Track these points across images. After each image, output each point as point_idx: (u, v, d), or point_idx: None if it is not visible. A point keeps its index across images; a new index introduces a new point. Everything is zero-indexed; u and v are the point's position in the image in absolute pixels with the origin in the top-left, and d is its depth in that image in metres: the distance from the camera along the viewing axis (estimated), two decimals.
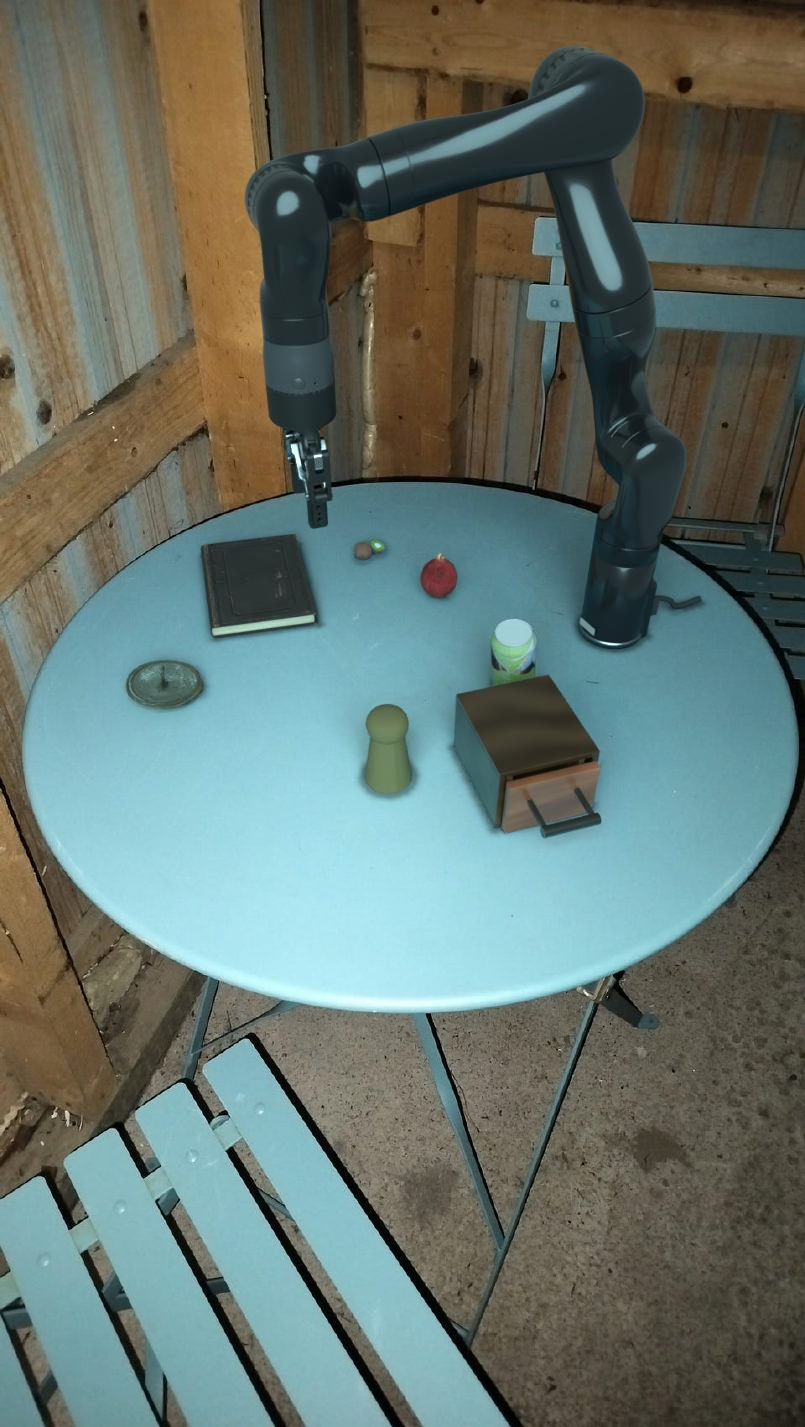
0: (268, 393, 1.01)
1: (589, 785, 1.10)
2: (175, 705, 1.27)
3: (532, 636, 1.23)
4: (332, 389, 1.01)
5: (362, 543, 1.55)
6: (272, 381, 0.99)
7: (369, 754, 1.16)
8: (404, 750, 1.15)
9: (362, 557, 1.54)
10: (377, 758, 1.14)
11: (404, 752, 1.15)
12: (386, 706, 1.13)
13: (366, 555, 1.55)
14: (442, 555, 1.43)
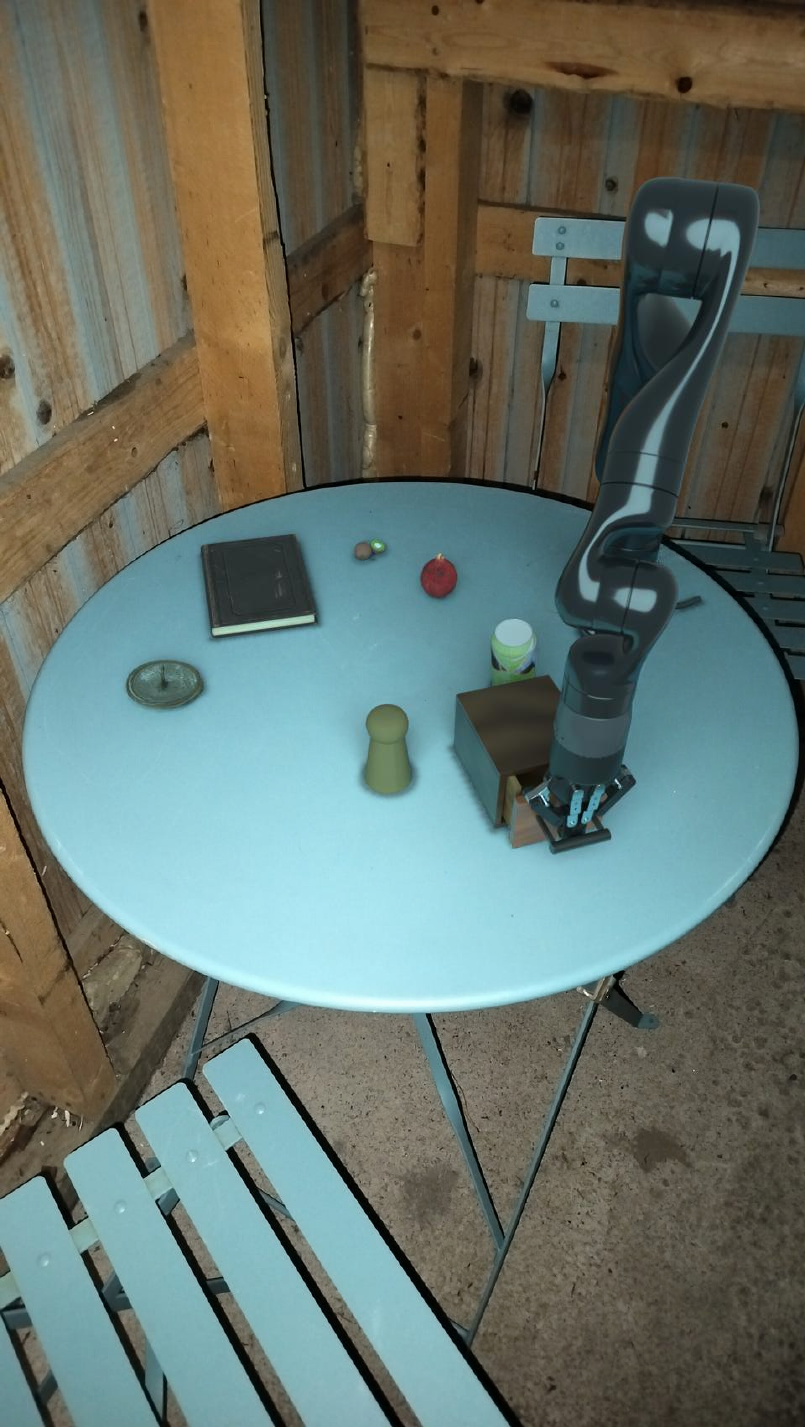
0: None
1: None
2: (175, 705, 1.27)
3: (532, 636, 1.23)
4: (583, 761, 0.93)
5: (362, 543, 1.55)
6: None
7: (369, 754, 1.16)
8: (404, 750, 1.15)
9: (362, 557, 1.54)
10: (377, 758, 1.14)
11: (404, 752, 1.15)
12: (386, 706, 1.13)
13: (367, 555, 1.55)
14: (442, 555, 1.43)
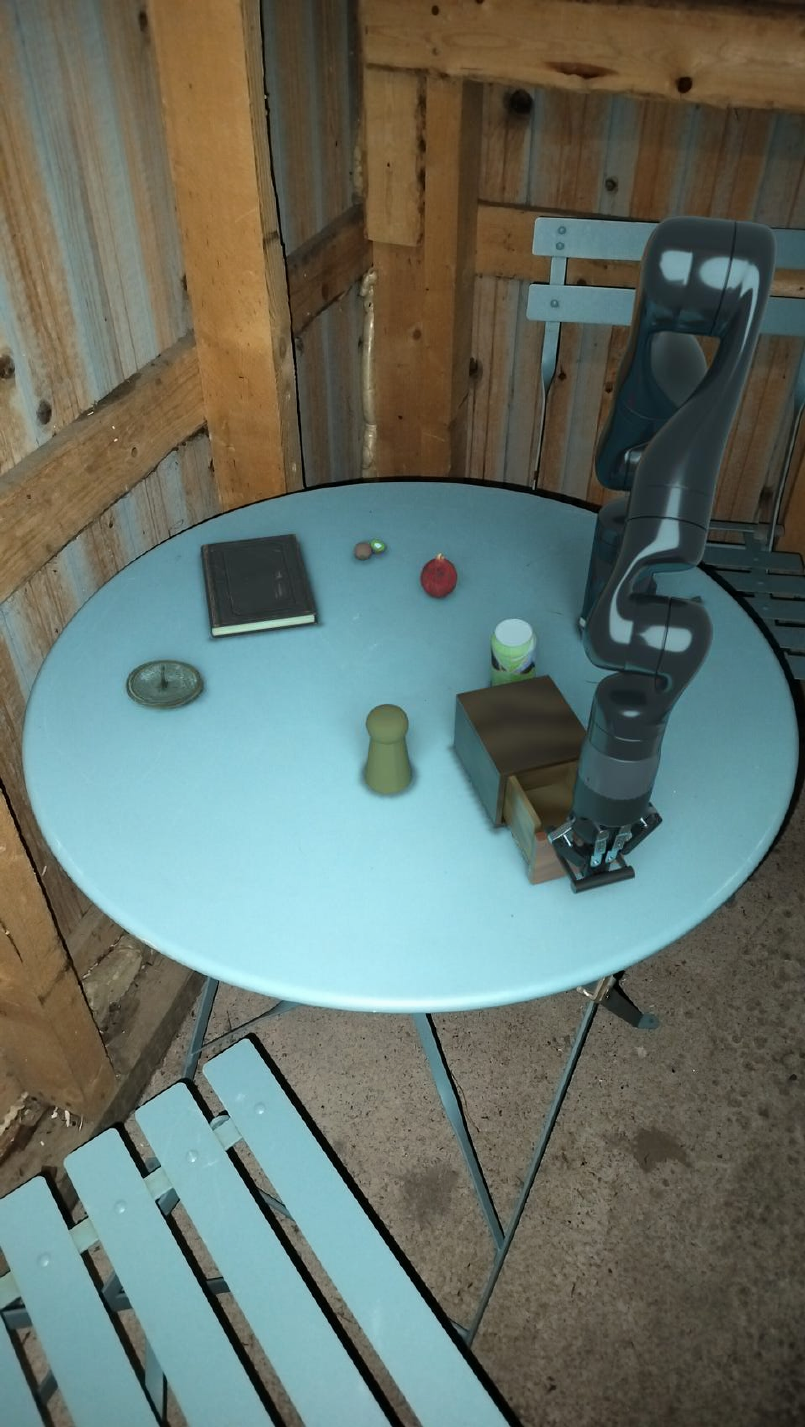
0: None
1: None
2: (175, 705, 1.27)
3: (532, 636, 1.23)
4: (609, 802, 0.89)
5: (362, 543, 1.55)
6: None
7: (369, 754, 1.16)
8: (404, 750, 1.15)
9: (362, 557, 1.54)
10: (377, 758, 1.14)
11: (404, 752, 1.15)
12: (386, 706, 1.13)
13: (366, 555, 1.55)
14: (442, 555, 1.43)
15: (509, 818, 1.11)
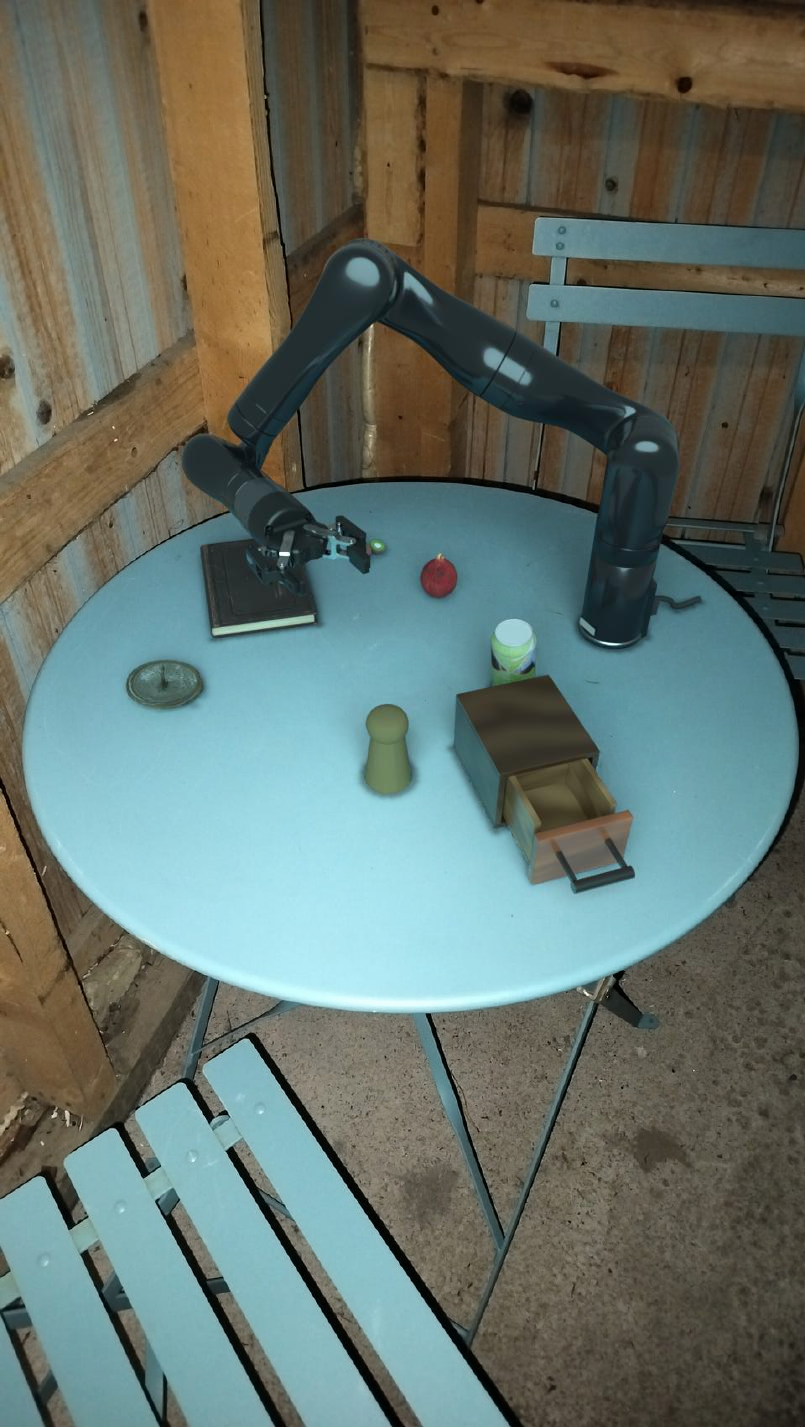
0: None
1: (621, 835, 1.05)
2: (175, 705, 1.27)
3: (532, 636, 1.23)
4: (259, 504, 1.17)
5: None
6: None
7: (369, 754, 1.16)
8: (404, 750, 1.15)
9: None
10: (377, 758, 1.14)
11: (404, 752, 1.15)
12: (386, 706, 1.13)
13: None
14: (442, 555, 1.43)
15: (509, 818, 1.11)
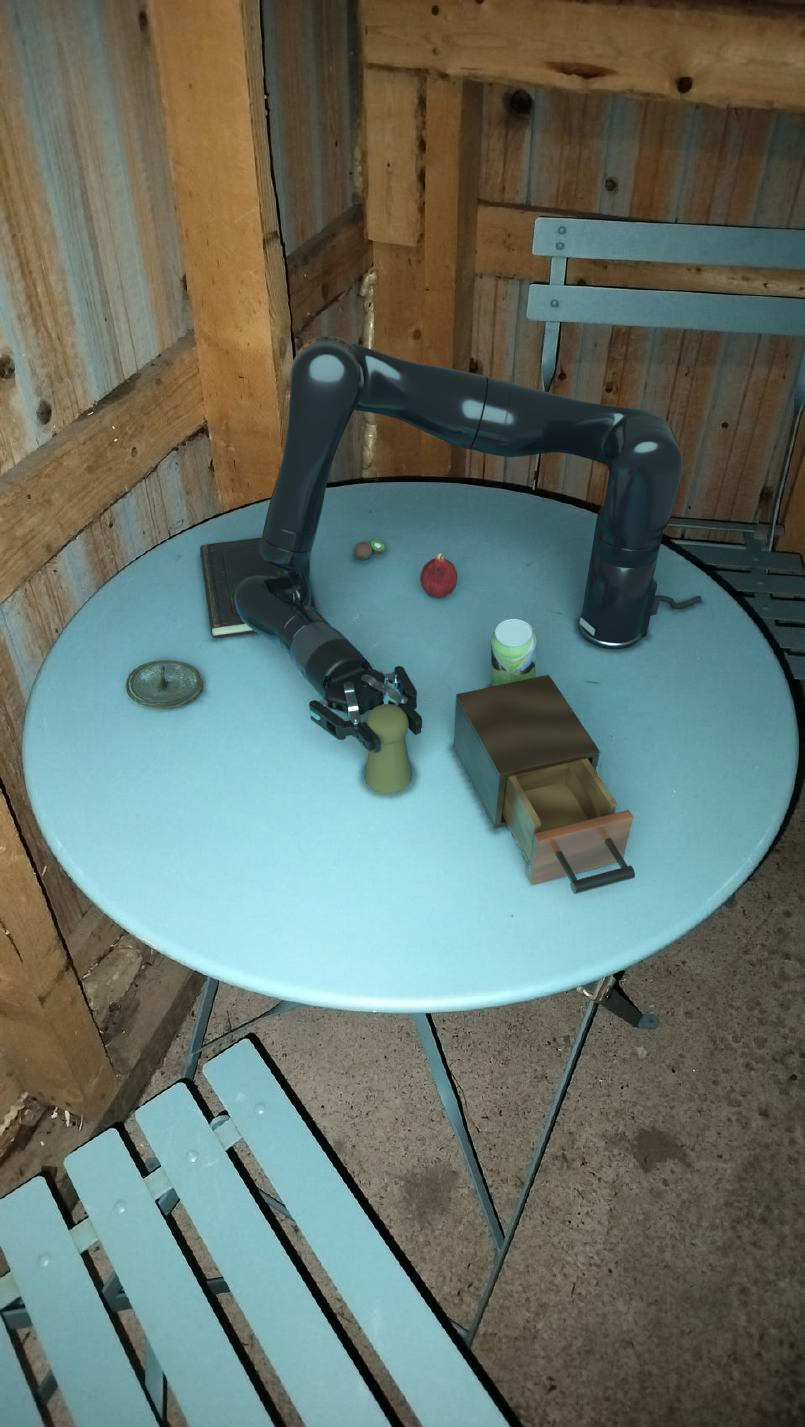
0: None
1: (621, 835, 1.05)
2: (175, 705, 1.27)
3: (532, 636, 1.23)
4: (317, 653, 1.19)
5: (362, 543, 1.55)
6: None
7: (369, 754, 1.16)
8: (404, 750, 1.15)
9: (362, 557, 1.54)
10: (377, 758, 1.14)
11: (404, 752, 1.15)
12: (386, 706, 1.13)
13: (366, 555, 1.55)
14: (442, 555, 1.43)
15: (509, 818, 1.11)
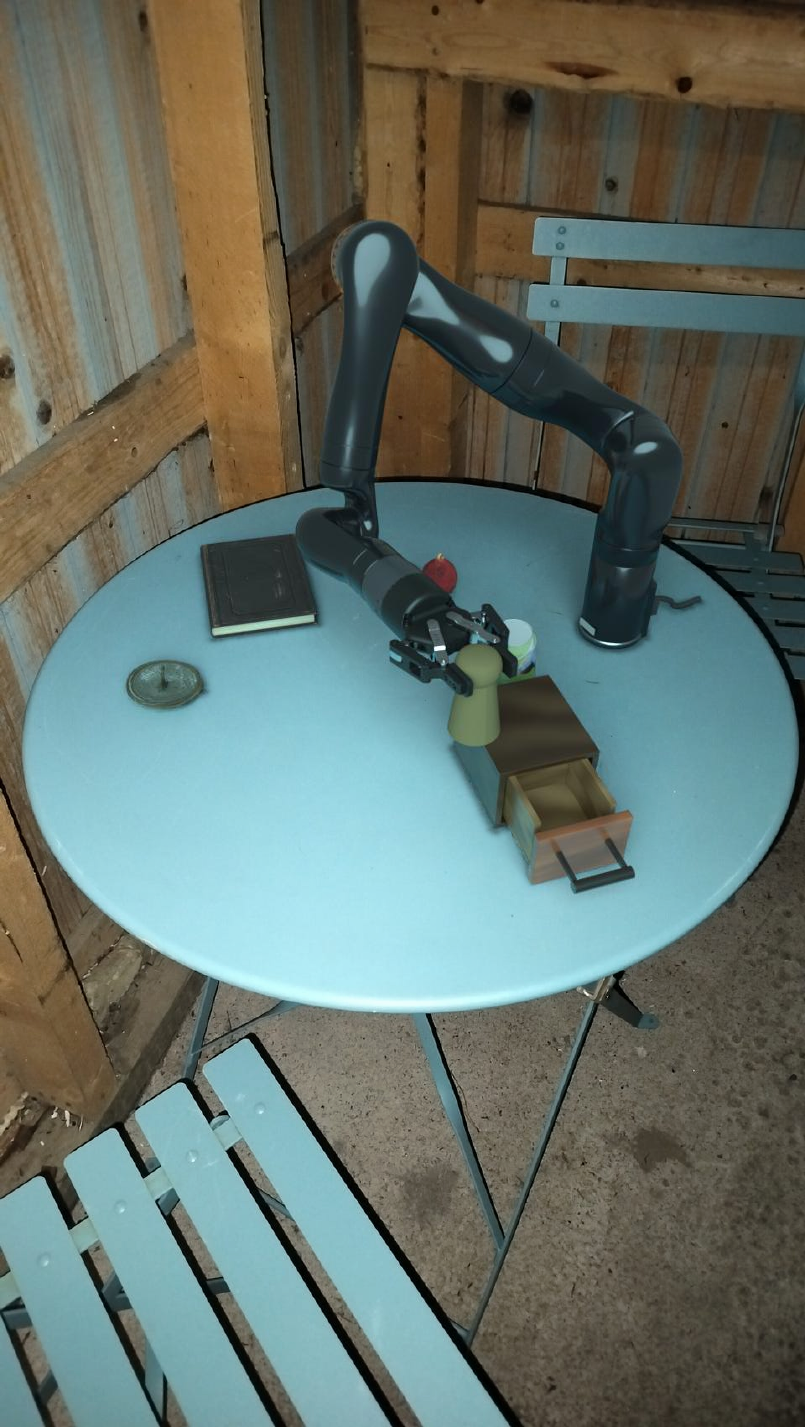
0: None
1: (621, 835, 1.05)
2: (175, 705, 1.27)
3: (532, 636, 1.23)
4: (395, 588, 1.05)
5: None
6: None
7: (455, 701, 1.02)
8: (496, 696, 1.02)
9: None
10: (465, 705, 1.01)
11: (496, 698, 1.02)
12: (478, 646, 1.00)
13: None
14: (442, 555, 1.43)
15: (509, 818, 1.11)
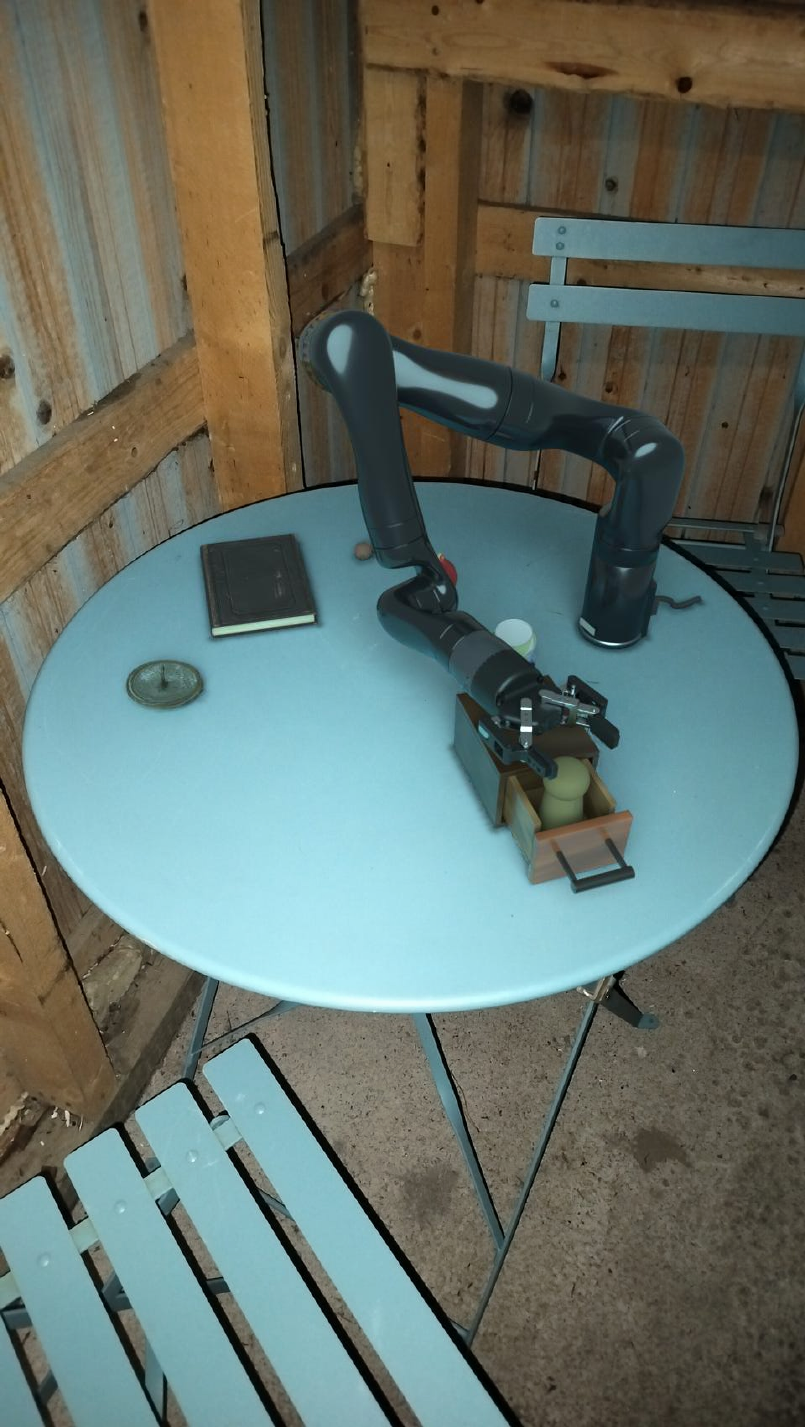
0: None
1: (621, 835, 1.05)
2: (175, 705, 1.27)
3: (532, 636, 1.23)
4: (486, 666, 1.06)
5: (362, 543, 1.55)
6: None
7: (543, 810, 1.06)
8: (582, 806, 1.06)
9: (362, 557, 1.54)
10: (553, 815, 1.05)
11: (582, 808, 1.06)
12: (566, 759, 1.03)
13: (367, 555, 1.55)
14: (442, 555, 1.43)
15: (509, 818, 1.11)
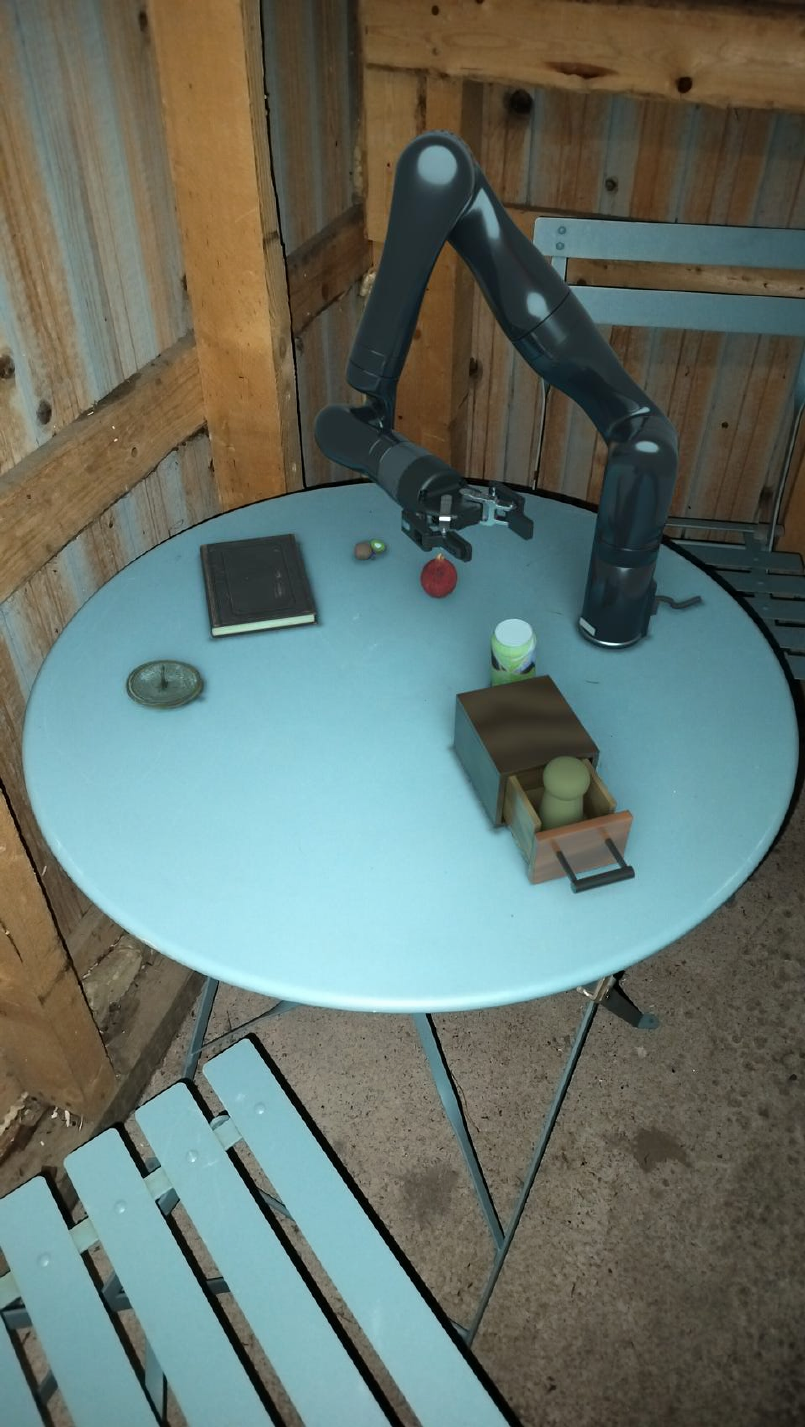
0: None
1: (621, 835, 1.05)
2: (175, 705, 1.27)
3: (532, 636, 1.23)
4: (411, 468, 1.11)
5: (362, 543, 1.55)
6: None
7: (543, 810, 1.06)
8: (582, 805, 1.06)
9: (362, 557, 1.54)
10: (554, 815, 1.05)
11: (582, 808, 1.06)
12: (566, 759, 1.04)
13: (366, 555, 1.55)
14: (442, 555, 1.43)
15: (509, 818, 1.11)
